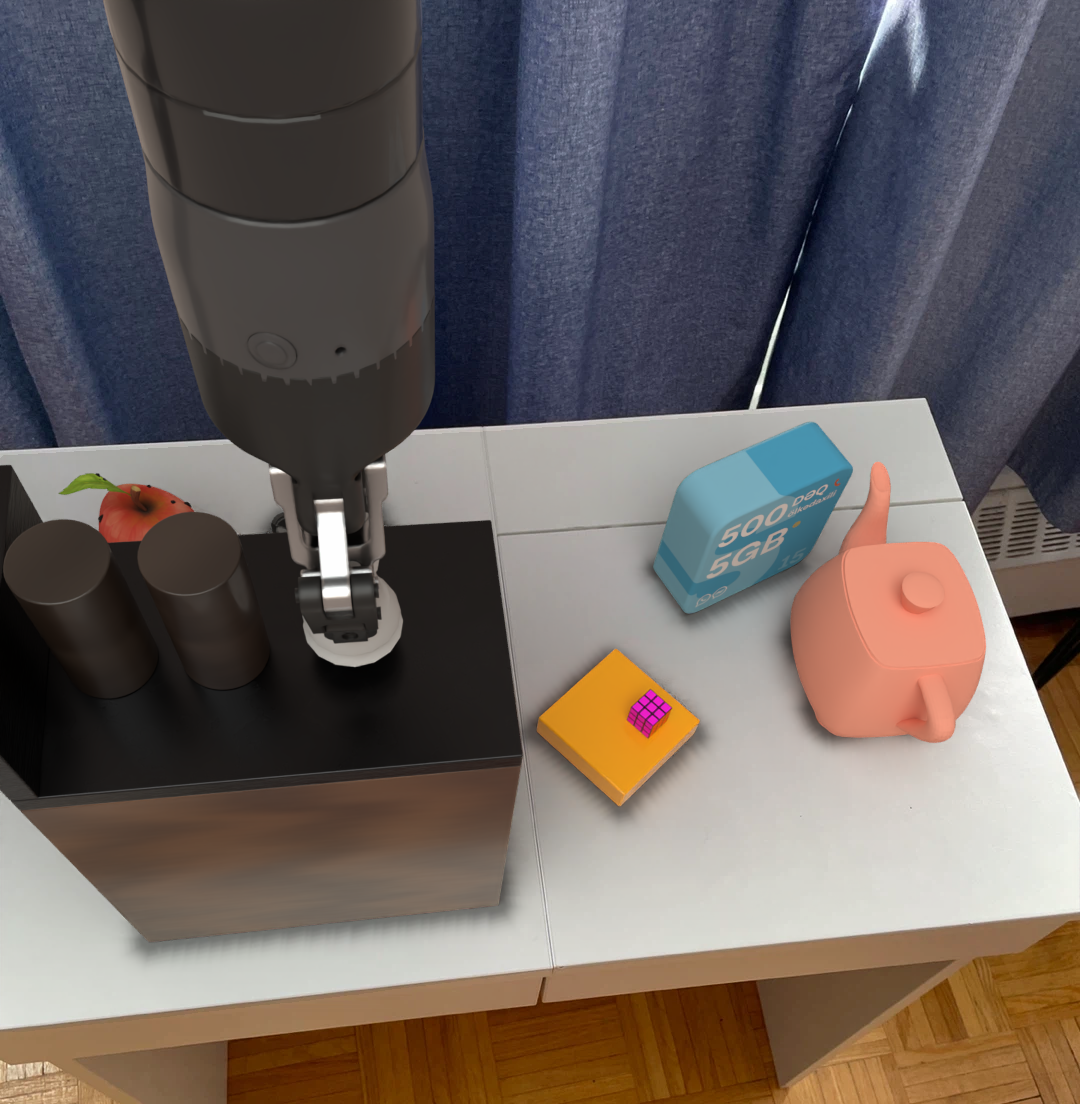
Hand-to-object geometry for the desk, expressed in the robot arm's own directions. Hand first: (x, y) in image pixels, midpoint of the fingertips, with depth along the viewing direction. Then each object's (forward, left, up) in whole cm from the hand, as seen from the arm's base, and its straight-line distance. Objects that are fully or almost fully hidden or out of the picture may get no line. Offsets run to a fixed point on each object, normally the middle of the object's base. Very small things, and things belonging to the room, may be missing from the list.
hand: (348, 591), depth 47 cm
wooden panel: (-3, -2, -29) cm, 29 cm away
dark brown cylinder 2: (-5, -3, -4) cm, 7 cm away
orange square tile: (+10, +14, -29) cm, 34 cm away
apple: (-25, +8, -29) cm, 39 cm away
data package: (+11, +31, -29) cm, 44 cm away
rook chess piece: (0, 0, -3) cm, 3 cm away
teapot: (+23, +28, -29) cm, 47 cm away
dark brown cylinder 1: (-9, -7, -4) cm, 12 cm away
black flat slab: (-3, -2, -6) cm, 7 cm away
